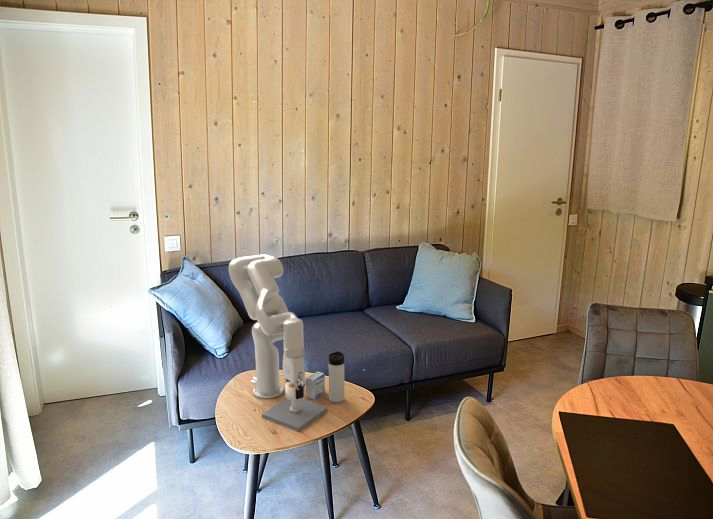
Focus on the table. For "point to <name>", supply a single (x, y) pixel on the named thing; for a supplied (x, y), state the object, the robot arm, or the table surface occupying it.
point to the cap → (291, 391)
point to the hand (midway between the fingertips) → (294, 393)
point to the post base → (294, 413)
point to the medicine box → (315, 385)
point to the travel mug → (336, 377)
